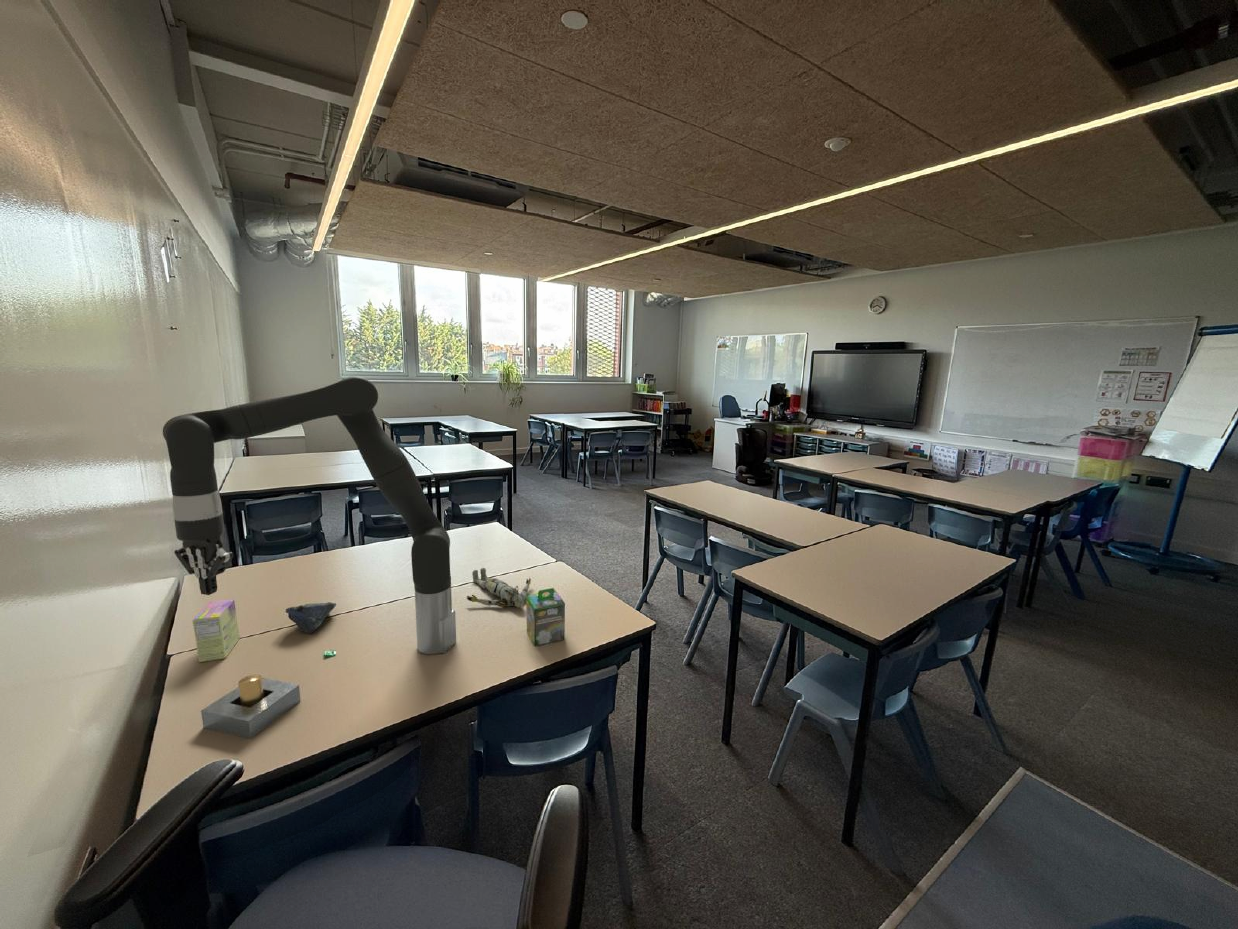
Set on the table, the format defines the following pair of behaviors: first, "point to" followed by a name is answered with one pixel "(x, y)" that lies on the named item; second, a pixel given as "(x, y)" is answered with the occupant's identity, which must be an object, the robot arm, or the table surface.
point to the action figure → (499, 591)
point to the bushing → (251, 690)
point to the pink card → (329, 653)
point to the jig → (250, 709)
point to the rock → (310, 615)
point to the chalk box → (545, 617)
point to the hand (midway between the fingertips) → (209, 593)
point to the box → (216, 630)
